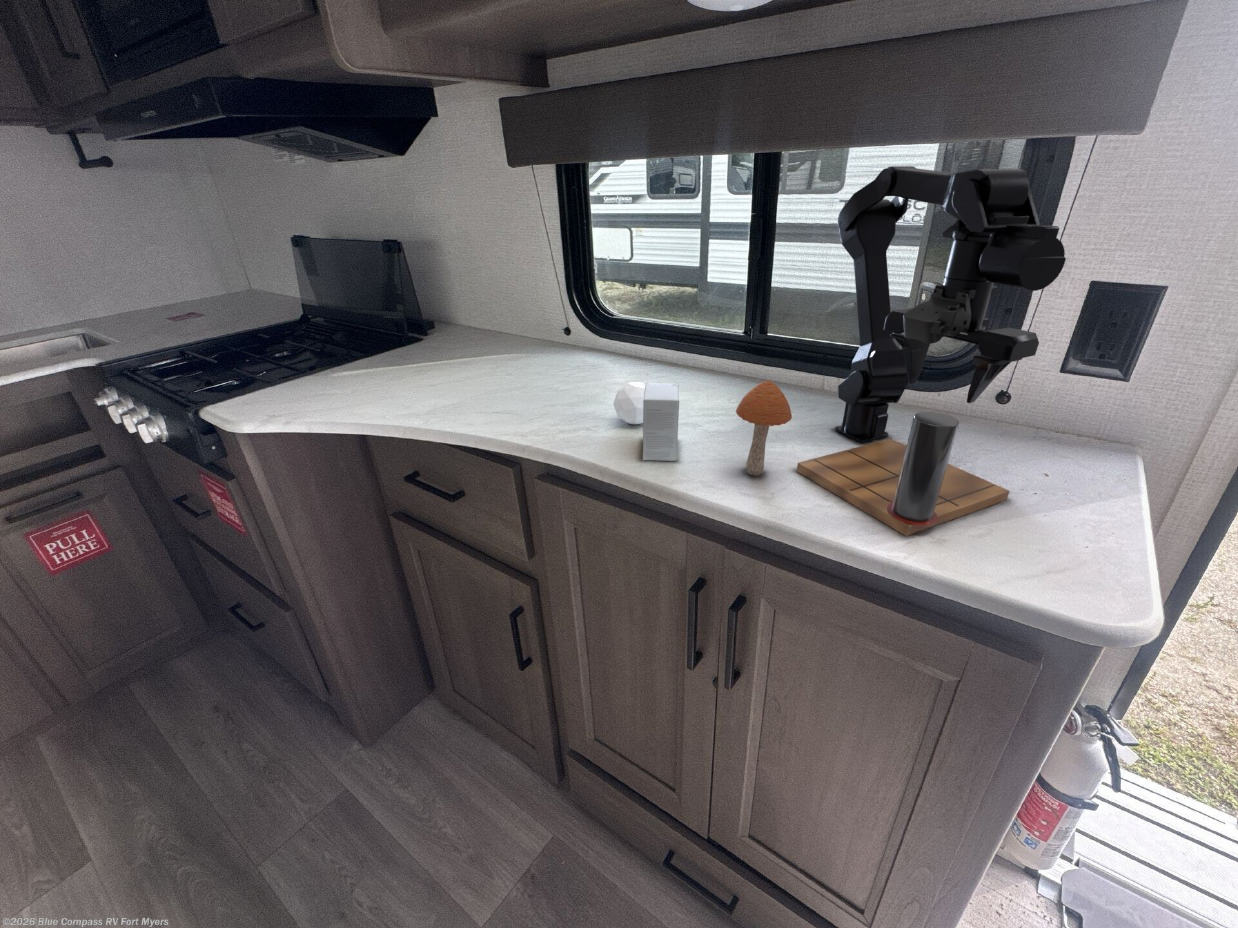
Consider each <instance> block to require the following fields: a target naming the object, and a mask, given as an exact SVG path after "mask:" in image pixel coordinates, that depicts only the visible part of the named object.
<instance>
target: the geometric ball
mask: <svg viewBox="0 0 1238 928" xmlns="http://www.w3.org/2000/svg"><path fill="white" fill-rule="evenodd" d="M645 385H646V383H645V384H644V382H627V383H626V384H624V385H623V386H621V388H619V389H618V390H616V392H615V397H614V399H613V407H614V410H615V413H616V415H617V417H618V418H619V419H621V420H622V421H624V422H625V423H627V425H641V424H642V425H643V400H644V392H645Z"/></svg>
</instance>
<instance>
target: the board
mask: <svg viewBox="0 0 1238 928" xmlns="http://www.w3.org/2000/svg"><path fill="white" fill-rule="evenodd" d="M906 447H907V444H904V443H901V442H900V441H897V440H896V439H893V438H888V439H883V440H879V441H875V442H872V443H868V444H864V445H861V446H857V447H853V448H848V449H845V450H841V451H837V452H834V453H829V454H825V455H822V456H818V457H815V458H811V459H807V460H803V461H798V462H797V465H796V472H797V473H798V474H800V475H802V476H804V477H806V478H807V479H808V480H810V481H812V482H813V483H815V484H817V485H819V486H820V487H822V488H823V489H825V490H827V491H829V492H830V493H832V494H834V495H836V496H837V497H839V498H841V499H842V500H844V501H846V502H848V503H849V504H851V505H852V506H854V507H856V508H857V509H859V510H861V511H863V512H864V513H866V514H868V515H869V516H871V517H873V518H874V519H877V520H878V521H879V522H881V523H882V524H884V525H886V526H888V527H890V528H891V529H892V530H894V531H896V532H898V533H900V534H902V535H903V536H905V537H909V536H910V535H913V534H916V533H920V532H922V531H925V530H928V529H931V528H933V527H935V526H938V525H941V524H944V523H947V522H950V521H952V520H955V519H958V518H961V517H963V516H967V515H970V514H971V513H974V512H977V511H980V510H983V509H985V508H986V509H987V508H989V507H991V506H993V505H996V504H997V505H998V504H1000V503H1002V502H1005V501H1007V500H1008V498H1009V494H1010V492H1011V491H1010V490H1009V489H1006V488H1004V487H1002V486H1000V485H997V484H995V483H993V482H991V481H989V480H986V479H984V478H982V477H980V476H977V475H974V474H973V473H970V472H968V471H966V470H963V469H961V468H959V467H956V466H954V465H952V464H949V463H948V464H947V468H946V471H945V475H944V479H943V482H942V486H941V489H940V493H939V496H938V500H937V503H936V507H935V511H934V514H933V518H932V519H931V520H929V521H926V522H915V521H910V520H906V519H903V518H901V517H899V516H898V515H896V514H895V513H894V512H893V510H892V505H893V501H894V497H895V493H896V488H897V484H898V480H899V476H900V472H901V468H902V463H903V459H904V455H905V451H906Z"/></svg>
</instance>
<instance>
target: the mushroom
mask: <svg viewBox="0 0 1238 928" xmlns="http://www.w3.org/2000/svg"><path fill="white" fill-rule="evenodd" d="M735 413H736V415H737V416H738V417H739V418H741V419H742V420H743V421H746V422H748V423H749V424H754V426H753V434H752V441H751V444H750V448H749V451H748V455H747V458H746V459H747V460H746V463H745V469H746V470H745V471H746V473H747V474H748V475H750V476H753V477H758V476H761V475H762V473H763V471H764V468H765V458H766V457H765V456H766V445H767V443H766V442H767V438H768V435H769V434H768V433H769V428H770V427H774V426H782V425H785V424H787V423H789V422H791V420H792V419H793V415H792V411H791V407H790V404H789V402H788V399H787V397H786V396H785V394H784V392H783V391H782V390H781V389H780V387H779V386H778V385H777V384H775V382H772V381H771V380H769V379H768V380H765V381H762V382H760V383H758V384H756V385H755V386H754V387H753V388H751V389H750V390H749V391H748V392H747V393H746V394H744V396H743V398H742V399H741V401H740V402H739V404H738V405H737V407H736V409H735Z"/></svg>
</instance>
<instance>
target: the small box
mask: <svg viewBox="0 0 1238 928" xmlns="http://www.w3.org/2000/svg"><path fill="white" fill-rule="evenodd" d="M679 418H680V384H679V383H662V382H661V383H659V382H658V383H657V382H656V383H654V382H646V383H645V392H644V400H643V423H642V460H643V461H662V462H676V461H677V459H678V458H677V457H678V440H679V439H678V438H679Z"/></svg>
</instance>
